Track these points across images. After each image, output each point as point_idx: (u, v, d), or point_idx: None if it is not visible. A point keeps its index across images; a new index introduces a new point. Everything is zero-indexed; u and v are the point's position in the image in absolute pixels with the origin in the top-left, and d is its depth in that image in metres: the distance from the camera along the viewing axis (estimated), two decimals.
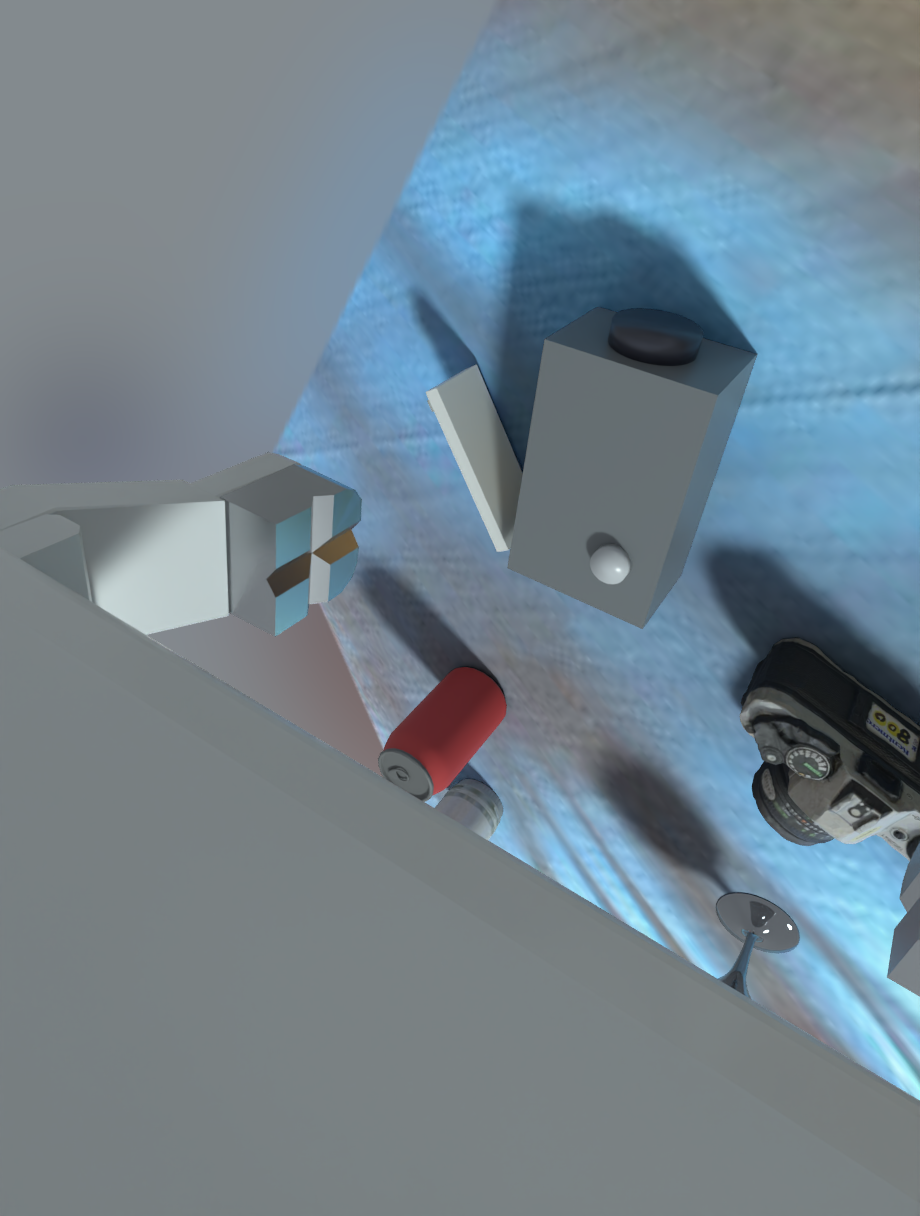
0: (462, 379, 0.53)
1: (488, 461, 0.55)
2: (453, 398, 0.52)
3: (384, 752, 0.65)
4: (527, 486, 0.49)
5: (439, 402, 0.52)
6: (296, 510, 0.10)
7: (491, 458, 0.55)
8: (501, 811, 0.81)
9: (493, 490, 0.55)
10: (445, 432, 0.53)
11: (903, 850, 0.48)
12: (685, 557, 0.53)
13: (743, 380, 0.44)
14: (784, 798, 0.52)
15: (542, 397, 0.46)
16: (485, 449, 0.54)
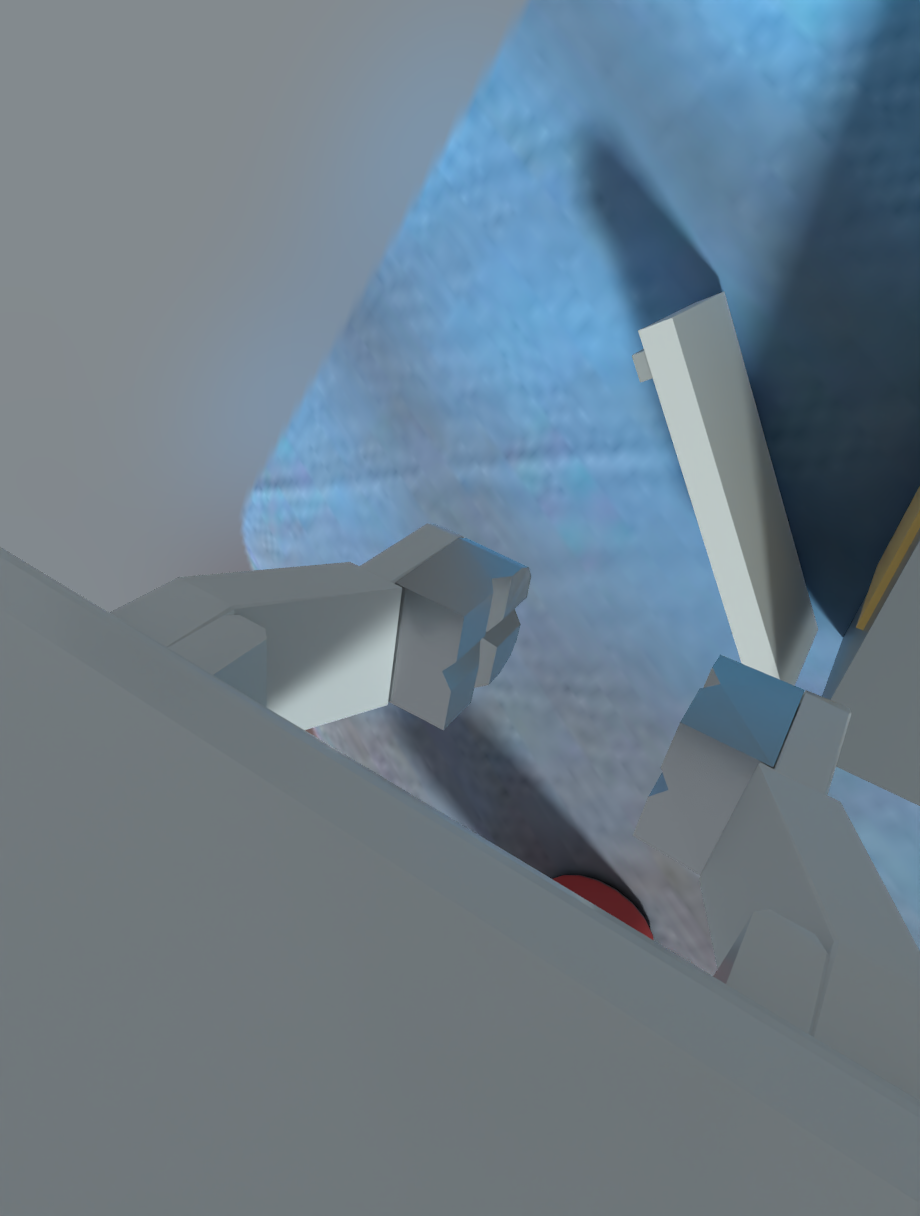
0: (707, 314, 0.23)
1: (750, 502, 0.24)
2: (697, 351, 0.22)
3: None
4: None
5: (673, 356, 0.22)
6: (478, 596, 0.09)
7: (754, 496, 0.24)
8: None
9: (760, 568, 0.24)
10: (672, 429, 0.22)
11: None
12: None
13: None
14: None
15: None
16: (745, 475, 0.24)
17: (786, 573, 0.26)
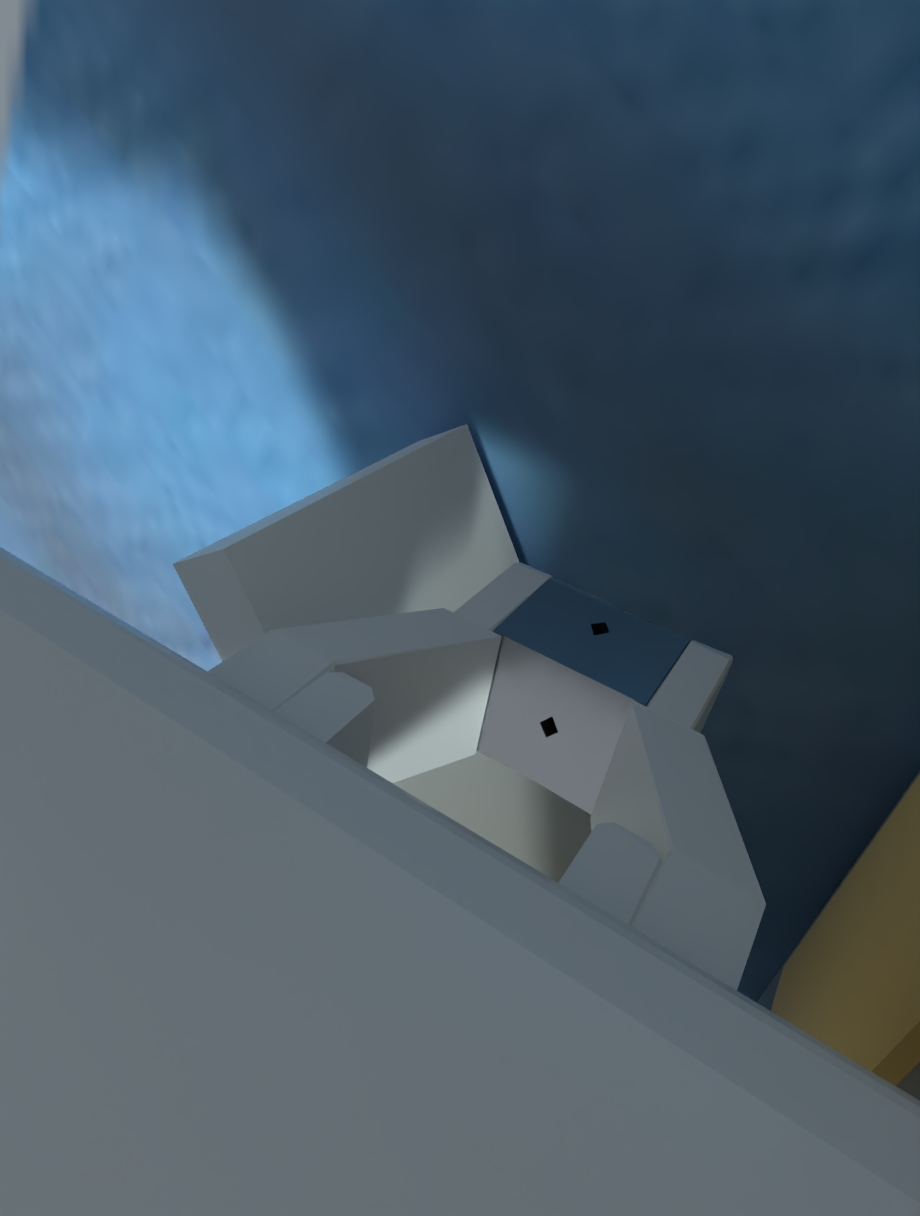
0: (395, 493, 0.11)
1: None
2: (337, 598, 0.10)
3: None
4: None
5: (247, 632, 0.09)
6: (580, 645, 0.09)
7: (521, 855, 0.12)
8: None
9: None
10: None
11: None
12: None
13: None
14: None
15: None
16: (495, 823, 0.11)
17: None
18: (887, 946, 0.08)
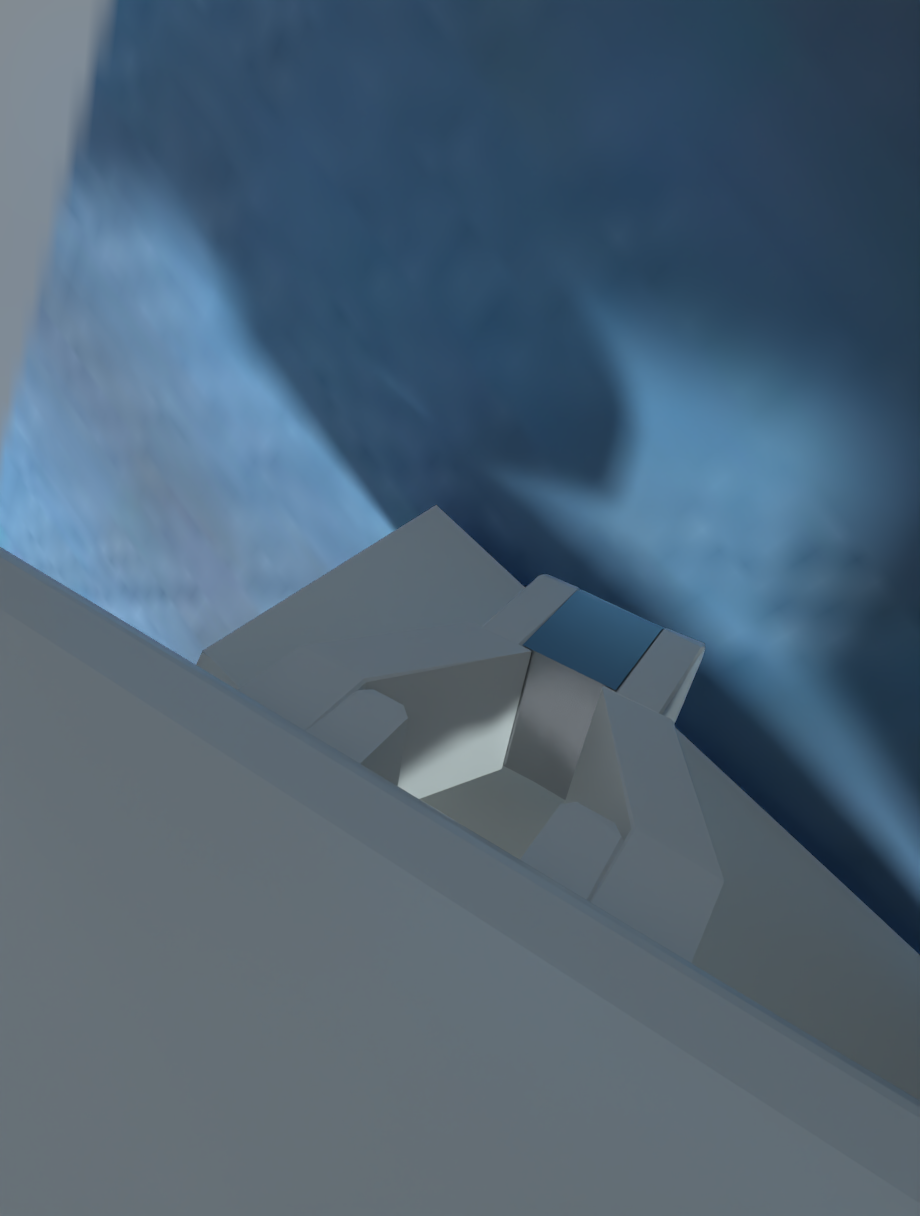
0: (374, 573, 0.11)
1: None
2: None
3: None
4: None
5: None
6: (611, 659, 0.08)
7: None
8: None
9: None
10: None
11: None
12: None
13: None
14: None
15: None
16: None
17: (855, 999, 0.11)
18: None
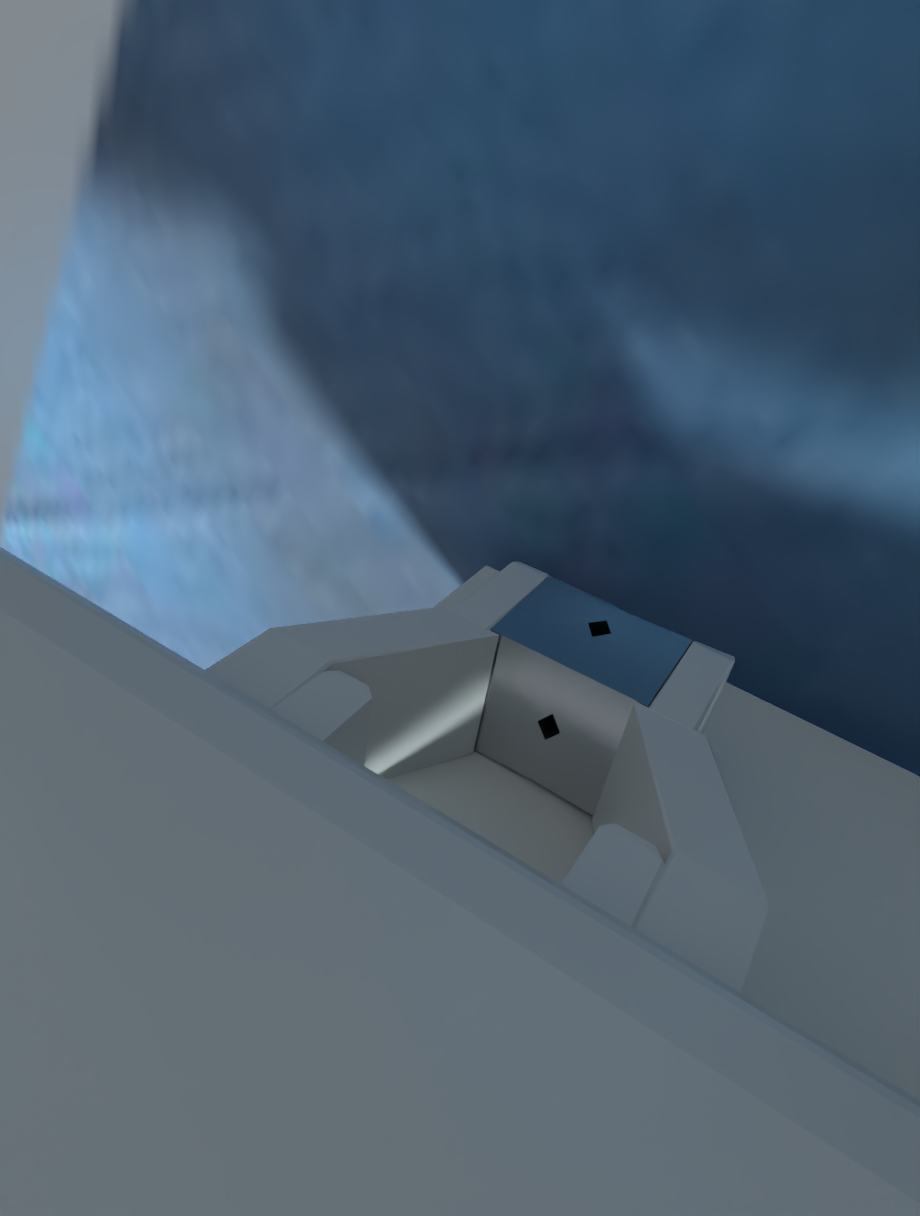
0: None
1: (813, 904, 0.09)
2: None
3: None
4: None
5: None
6: (578, 643, 0.09)
7: (820, 877, 0.09)
8: None
9: None
10: None
11: None
12: None
13: None
14: None
15: None
16: None
17: None
18: None
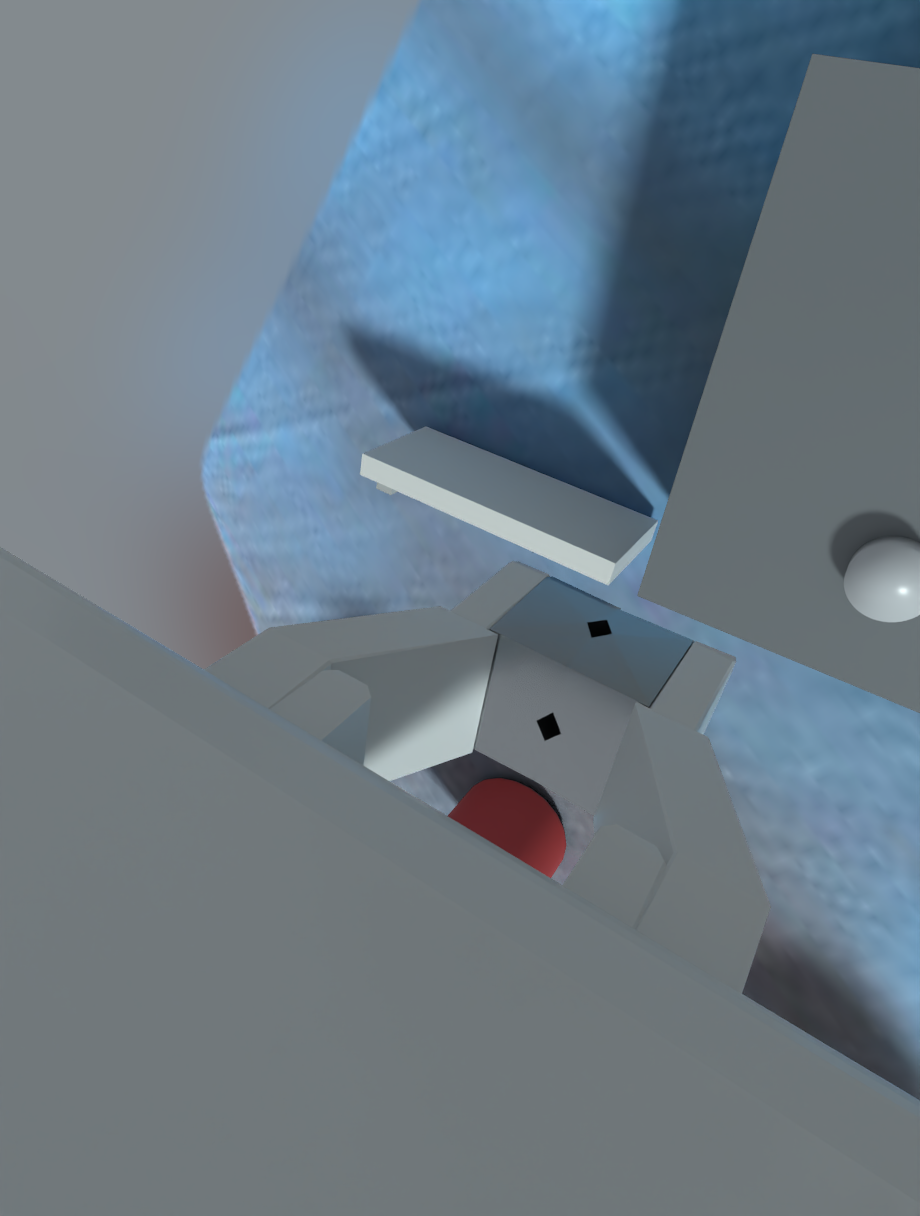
0: (407, 440, 0.36)
1: (503, 491, 0.33)
2: (399, 455, 0.35)
3: None
4: (709, 420, 0.24)
5: (379, 467, 0.34)
6: (577, 643, 0.09)
7: (508, 487, 0.34)
8: None
9: (534, 513, 0.32)
10: (414, 496, 0.34)
11: None
12: None
13: None
14: None
15: (781, 205, 0.21)
16: (490, 482, 0.34)
17: (581, 507, 0.33)
18: None
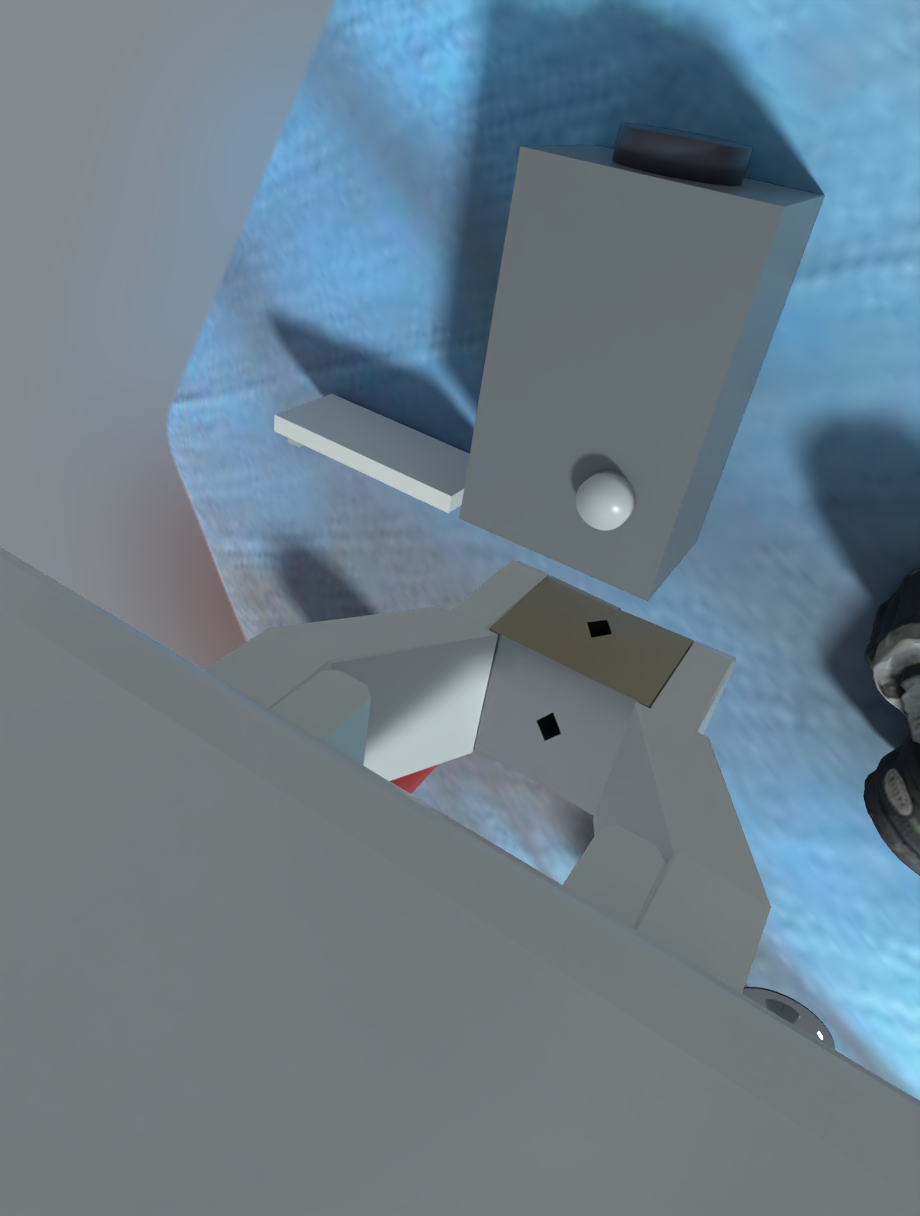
0: (313, 404, 0.47)
1: (380, 443, 0.44)
2: (304, 416, 0.45)
3: None
4: (490, 389, 0.35)
5: (287, 425, 0.44)
6: (577, 643, 0.09)
7: (384, 441, 0.44)
8: None
9: (399, 460, 0.43)
10: (313, 447, 0.44)
11: None
12: (704, 512, 0.39)
13: (806, 227, 0.30)
14: None
15: (514, 244, 0.31)
16: (371, 437, 0.44)
17: (439, 456, 0.44)
18: None
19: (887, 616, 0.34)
